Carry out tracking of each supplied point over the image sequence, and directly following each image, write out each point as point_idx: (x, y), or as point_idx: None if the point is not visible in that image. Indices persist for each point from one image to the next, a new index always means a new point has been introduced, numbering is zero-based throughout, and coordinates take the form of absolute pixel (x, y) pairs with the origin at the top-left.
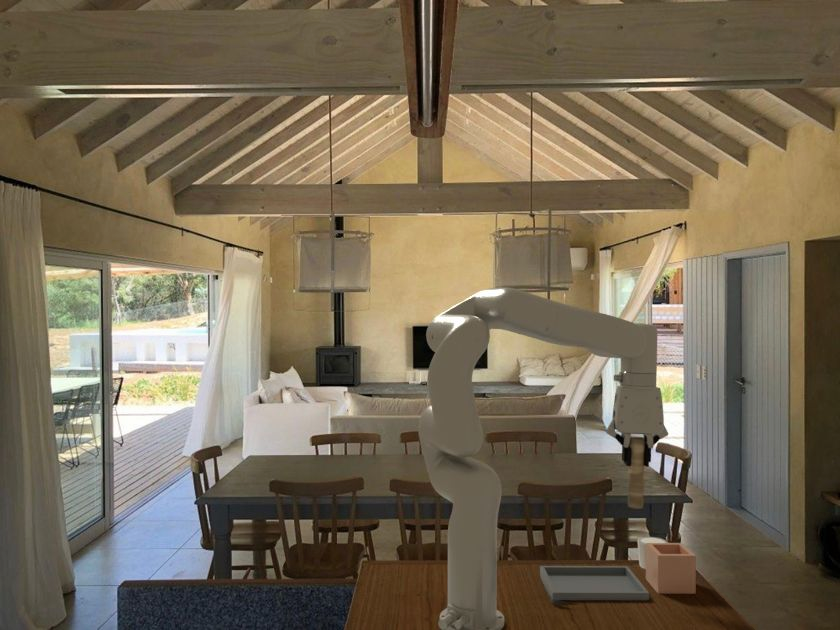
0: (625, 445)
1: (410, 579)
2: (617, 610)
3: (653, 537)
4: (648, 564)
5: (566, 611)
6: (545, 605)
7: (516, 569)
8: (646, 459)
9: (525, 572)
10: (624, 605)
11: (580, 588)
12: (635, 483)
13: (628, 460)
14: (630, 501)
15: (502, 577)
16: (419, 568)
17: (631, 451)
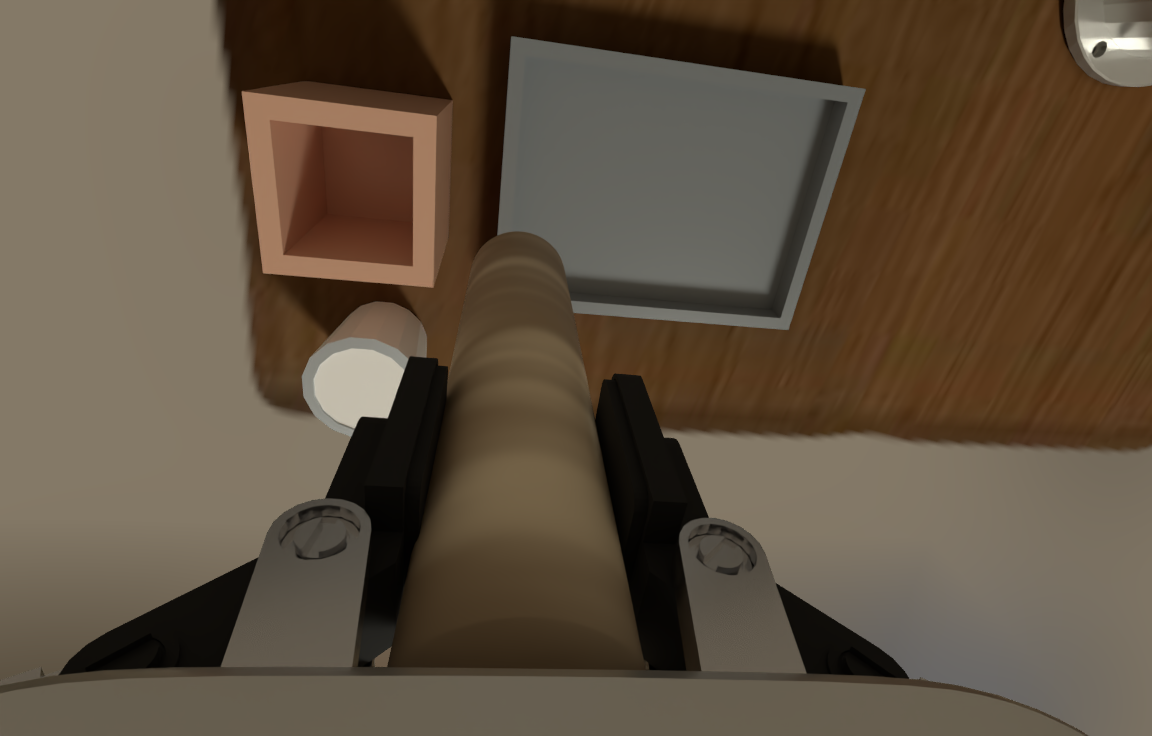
0: (724, 550)
1: (1133, 325)
2: (647, 3)
3: (347, 426)
4: (442, 228)
5: (825, 21)
6: (867, 84)
7: (814, 375)
8: (427, 398)
9: (799, 351)
10: (602, 47)
11: (712, 177)
12: (545, 298)
13: (646, 404)
14: (563, 269)
15: (883, 320)
16: (1067, 397)
17: (629, 474)
